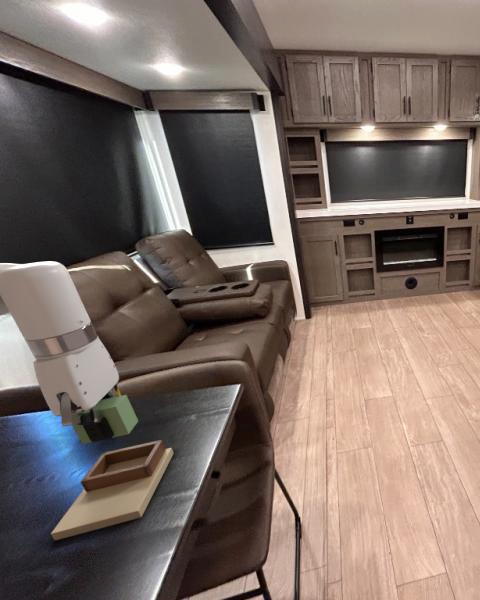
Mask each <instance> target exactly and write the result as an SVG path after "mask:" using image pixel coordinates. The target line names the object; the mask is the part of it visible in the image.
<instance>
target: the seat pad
mask: <svg viewBox="0 0 480 600" xmlns="http://www.w3.org/2000/svg"><path fill="white" fill-rule="evenodd" d="M174 454H175V453H174V450H173V448H172V447H169V448H166V446H165V443H164V441H163V439H159V440H155V441H150V442H145V443H142V444H137V445H132V446H128V447H124V448H119V449H115V450H110V451H105V452H102V453H101V454H100V456H99V458H97V460H96V462H95V463H93V465H92V466H91V468H90V469H89V471H88V472H87V473H86V474H85V475H84V477H83V478H82V479H81V481H80V484H81V486H82V487H83V489H82V491H81V492H80V494H78V497H76V499H75V500H74V502H73V503H72V504H71V505H70V507H69V509H68V510H67V511H66V512H65V514H64V515H63V517H62V518H61V519H60V521H58V523H57V525H56V526H55V527H54V528H53V530H52V531H51V532H50V535H51V537H52V539H53V540H54V541H58V540H62V539H65V538H66V539H67V538H70V537H73V536H77V535H80V534H85V533H88V532H92V531H96V530H99V529H103V528H107V527H111V526H115V525H118V524H121V523H125V522H128V521H133V520H136V519H137V520H138V519H140V518H143V515H144V513H145V511H146V509H147V507H148V506H149V503H150V501H151V499H152V497H153V496H154V493H155V491H156V489H157V487H158V485H159V483H160V482H161V479H162V477H163V475H164V474H165V472H166V470H167V468H168V465H169V463H170V462H171V459H172V458H173V455H174Z"/></svg>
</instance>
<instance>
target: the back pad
mask: <svg viewBox="0 0 480 600" xmlns="http://www.w3.org/2000/svg"><path fill="white" fill-rule="evenodd" d="M97 405H98V408H99V411H100V413H101V416H102V418H105V417H106V419H107V421H108V423H109V425H110V427H111V429H112V431H113V433H114V436H113V437H112V438H111V439H114V438H117V437H122V436H127V435H129V434H130V433H131V432H132V431H133V430H134V428H135V426H136V425H137V424H138V422H139V419H138V417H137V414H136V413H135V410H134V408H133V406H132V404H131V401H130V399H129V398H128V395H127V394H123V395H121V396H118V397H113V398H108V399H103V400H100V401H99V402H98V403H97ZM83 412H84V414H89V415H91V413H90V410H88V411H83ZM71 426H72V428H73V430H74V431H75V433H76V435H77V437H78V438H79V440H80V443H81V444H82V445H85V444H86V445H87V444H90V443H92V442H91V441H90V439H89V437H88V435H87V433H86V431H85V429H84V428H83V426H78V425H75V424H74V425H71Z"/></svg>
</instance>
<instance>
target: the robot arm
mask: <svg viewBox="0 0 480 600" xmlns="http://www.w3.org/2000/svg"><path fill="white" fill-rule="evenodd" d="M7 314H10V315H11V317H12V320H13V321H14V322H15V325H16V327H17V328H18V330H19V332H20V334H21V335H22V337H23V339H24V341H25V343H26V344H27V346H28V348H29V350H30V352H31V354H32V356H33V358H34V359H35V360H34V361H33V368H34V374H35V377H36V380H37V383H38V386H39V388H40V391H41V393H42V395H43V398H44V400H45V402H46V405H47V406H48V407H49V410H50V412H51V413H52V415H54V416H55V417H60V418H61V426H62V427H68V426H72V425H74V424H75V425H78V426H83V428H84V429H85V431H86V433H87V435H88V437H89V439H90V441H91V443H96V442H101V441H105V440H109V439H113V438H114V437H113V436H114V433H113V431H112V429H111V427H110V425H109V423H108V421H107V419H106V417H105V418H102V416H101V413H100V411H99V408H98V405H97V403H98V402H99V401H100V400H103V399H108V398H113V397H118V396H119V395H118V393H117V389H119V387H118V385H119V381H120V375H119V372H118V368H117V367H116V365H115V362H114V361H113V359H112V356H111V355H110V353H109V351H108V350H107V348H106V347H105V345H104V343H103V342H102V340H101V339H100V338H99V336H98V333H97V331H96V329H95V326H94V324H93V322H92V321H91V318H90V316H89V314H88V312H87V310H86V307H85V305H84V303H83V301H82V299H81V296H80V294H79V292H78V290H77V288H76V286H75V283H74V281H73V279H72V277H71V275H70V273H69V271H68V268H66V266H65V265H64V264H62V263H60V262H59V261H58V262H57V261H51V260H50V261H49V260H48V261H37V262H29V263H12V262H11V263H8V262H7V263H6V262H1V263H0V316H5V315H7ZM88 410H90V413H91V415H89V414H84V412H83V411H88ZM112 437H113V438H112Z"/></svg>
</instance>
